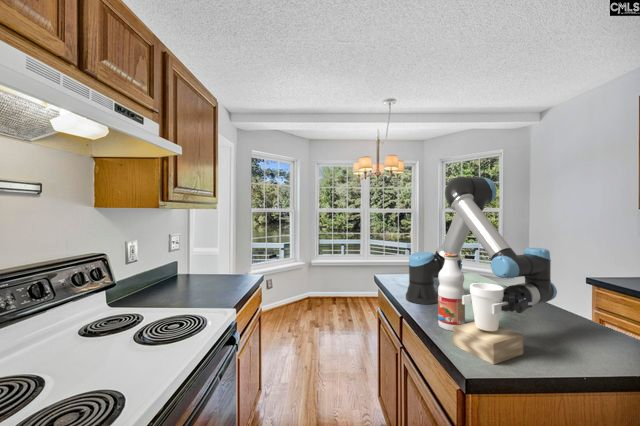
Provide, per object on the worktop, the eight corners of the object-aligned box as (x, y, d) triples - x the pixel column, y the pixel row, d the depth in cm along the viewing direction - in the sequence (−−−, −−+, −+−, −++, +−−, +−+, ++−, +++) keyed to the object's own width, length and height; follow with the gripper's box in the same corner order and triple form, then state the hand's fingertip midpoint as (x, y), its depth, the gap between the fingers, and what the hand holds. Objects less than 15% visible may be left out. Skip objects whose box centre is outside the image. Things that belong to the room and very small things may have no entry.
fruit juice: (469, 331, 108) (469, 255, 108) (444, 332, 108) (443, 255, 108) (458, 322, 117) (457, 252, 117) (434, 322, 117) (433, 252, 117)
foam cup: (503, 335, 88) (503, 292, 87) (469, 329, 92) (468, 288, 92) (503, 325, 96) (503, 285, 96) (471, 319, 101) (471, 281, 100)
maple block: (453, 344, 97) (452, 326, 97) (481, 336, 103) (481, 319, 103) (493, 364, 85) (493, 343, 85) (523, 354, 91) (523, 334, 91)
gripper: (558, 316, 92) (513, 329, 82) (490, 297, 112) (448, 306, 102) (558, 292, 91) (513, 302, 82) (490, 278, 112) (448, 284, 102)
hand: (477, 304), depth 92 cm, fingers open, 10 cm apart
